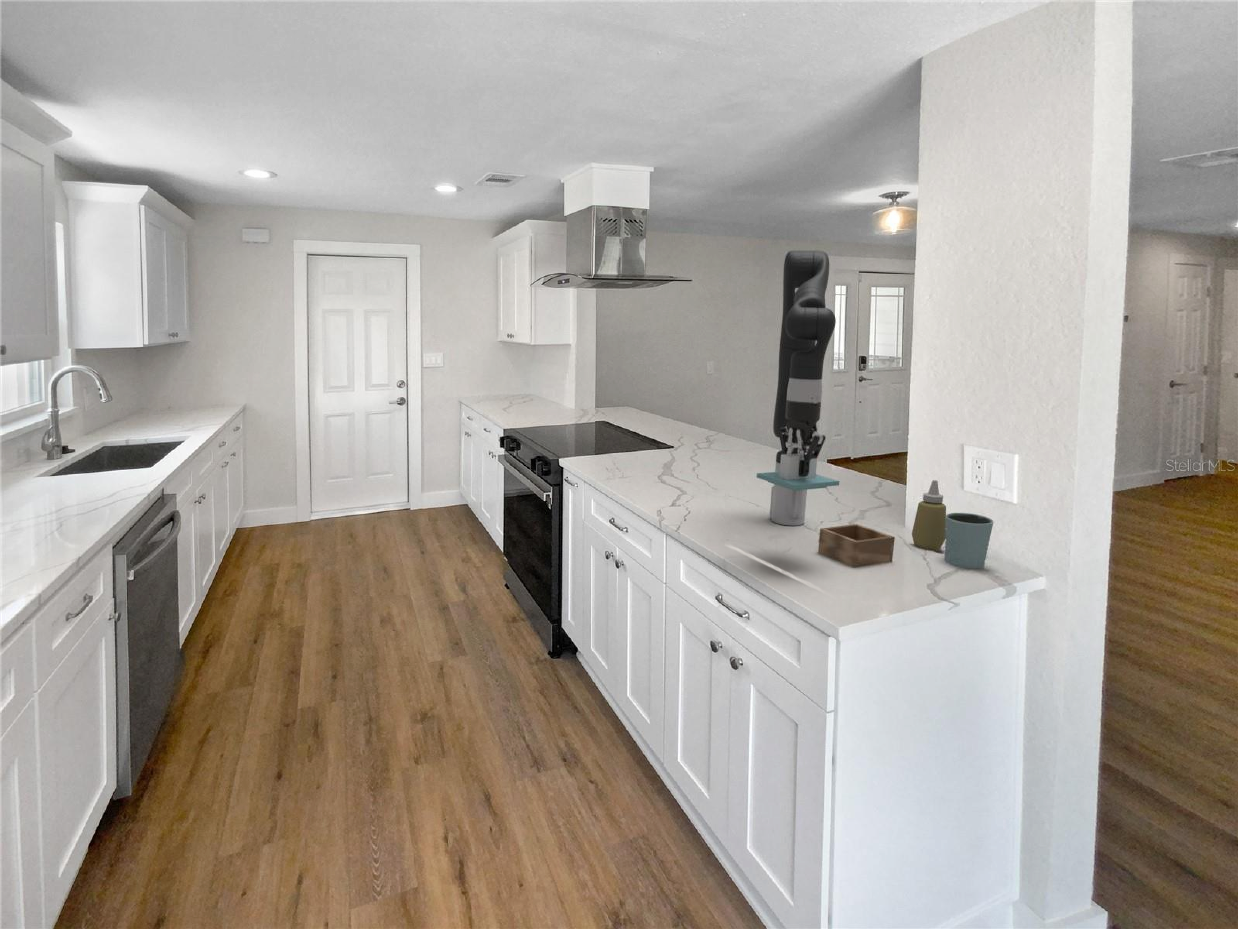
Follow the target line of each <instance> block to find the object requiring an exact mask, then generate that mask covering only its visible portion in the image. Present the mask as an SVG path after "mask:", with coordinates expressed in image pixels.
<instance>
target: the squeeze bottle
mask: <svg viewBox="0 0 1238 929" xmlns="http://www.w3.org/2000/svg"><path fill="white" fill-rule="evenodd" d="M930 483H931V484H930V487H929V490H928V492H924V493H923V495H922V501H920V502H918V503H917V508H916V513H915V517H914V521H913V522H914V523H913V527H912V532H911V536H912V540H913V545H914V546H915V547H916V548H917V547H918V548H921V549H924V550H928V551H932V552H934V553H937V552H940V551H941V548H942V547H943V545H944V542H945V541H946V539H945V537H946V536H945V533H946V532H945V531H946V515H947V506H946V505H945V504H944V503H943V502H944V495H943V494H940V492H939V482H938V480H936V479H935V480H934V479H933V480H932V481H931V482H930Z"/></svg>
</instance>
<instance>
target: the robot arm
mask: <svg viewBox="0 0 1238 929" xmlns="http://www.w3.org/2000/svg"><path fill="white" fill-rule="evenodd" d="M784 257H785V258H784V263H783V272H782V273H783V275H782V276H783V279H782V280H783V282H782V286H783V287H782V288H783V289H782V293H783V294H782V317H781V318H782V320H781V329H780V338H779V351H778V353H779V354H778V375H777V378H778V379H777V390H776V398H775V405H774V412H773V413H774V415H773V425H772V427H773V430H772V431H773V434H774V436H775V437H776V438H779V441H780V447H781V450H779V451H777V452H776V456H775V468H774V472H780V462H781V454H796V453H800V459H801V460H800V462H799V474H798V475H799V476H801V477H805V476H807V475H808V473H809V465H810V460H811V459H816V458H817V459H818V457H819V456H820V453H821V450H822V448H823V445H824V444H825V441H826V435H825V434H822V435H821V434H820V433H819V432H818V427H817V422H819V421H820V418H821V409H822V408H821V407H822V398H823V372H824V363H825V362H824V361H825V358H826V353H827V348H828V346H829V343H830V340H831V338H832V335H833V333H834V331H835V328H836V324H837V321H836V320H837V319H836V316H835V312H833V310H832V309H830V308H827V307H826V292H827V289H828V288H827V287H828V283H829V275H830V259H829V258H830V257H829V255H828V254H827V253H826V252H825V251H824V250H823V251H822V250H789V251H787V252H786V255H785V256H784ZM796 289H797V290H796ZM805 453H807V454H805ZM770 494H771V495H770V507H769V519H771V521H772V522H773V523H775V524H778V525H782V526H802V525H804V524H805V521H806V520H805V518H806V509H807V507H806V506H807V496H808V489H807V490H796V491H794V490H791V489H788V488H785V487H782V486H779V485H776V484H773V485H772V487H771V493H770Z"/></svg>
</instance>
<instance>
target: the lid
mask: <svg viewBox="0 0 1238 929" xmlns="http://www.w3.org/2000/svg"><path fill="white" fill-rule="evenodd" d="M805 454H807V453H805ZM800 460H801V459H800V453H796V454H781V462H780V472H775V471H771V472H769V471H768V472H757V473H756V478H757V479H760V480H764V481H765V482H767V483H770V484H773V485H774V484H776V485H779V486H782V487H785V488H788V489H791V490H794V491H796V490H807V491H808V490H816V489H825V488H826V489H827V487H834V486H837V487H838V486H840V480H837V479H834V478H830V477H827V476H824V475H820V474H817V466H818V465H817V464H818V457H817V458H816V459H811V460H810V465H809V473H808V475H807V476H805V477H801V476H799V475H798V474H799V462H800Z"/></svg>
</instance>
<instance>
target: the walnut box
mask: <svg viewBox="0 0 1238 929" xmlns="http://www.w3.org/2000/svg"><path fill="white" fill-rule="evenodd" d="M818 539H819V540H818V549H817V552H818V554H820V555H823V556H824V557H827V558H830V559H833V560H834V561H835V560H836V561H837V562H838V563H843V564H844V565H847V566H849V567H851V568H854V569H855V568H862V567H868V566H869V567H870V566H873V565H879V564H885V563H892V562H893V558H894V547H895V540H896V537H895V536H893V535H890V534H887V533H884V532H882V531H879V530H876V529H873V528H871V527H870V528H869V527H867V526H865V525H862V524H858V523H853V524H847V525H846V524H844V525H838V526H830V527H824V528H820V529H819V538H818Z"/></svg>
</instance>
